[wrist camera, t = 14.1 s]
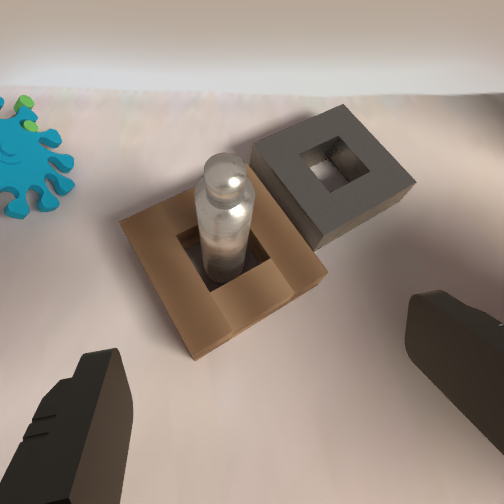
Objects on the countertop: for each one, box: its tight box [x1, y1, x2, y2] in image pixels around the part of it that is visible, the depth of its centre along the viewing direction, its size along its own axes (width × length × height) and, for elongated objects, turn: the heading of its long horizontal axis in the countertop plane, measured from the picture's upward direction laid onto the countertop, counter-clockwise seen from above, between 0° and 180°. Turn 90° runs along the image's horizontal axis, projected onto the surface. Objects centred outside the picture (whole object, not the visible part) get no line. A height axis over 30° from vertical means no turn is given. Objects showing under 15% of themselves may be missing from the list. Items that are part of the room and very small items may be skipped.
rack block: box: [119, 163, 328, 361], centre depth 25 cm, size 11×11×3 cm
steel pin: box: [194, 153, 255, 282], centre depth 21 cm, size 3×3×12 cm
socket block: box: [250, 104, 417, 251], centre depth 29 cm, size 10×10×3 cm
